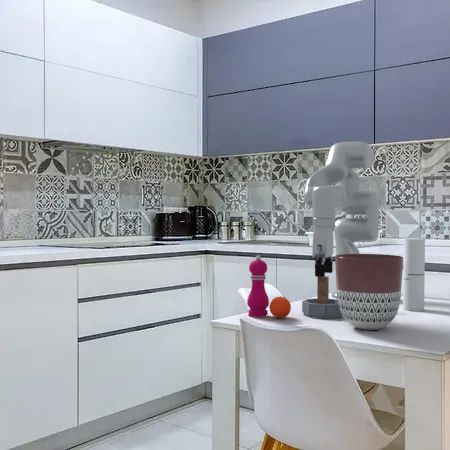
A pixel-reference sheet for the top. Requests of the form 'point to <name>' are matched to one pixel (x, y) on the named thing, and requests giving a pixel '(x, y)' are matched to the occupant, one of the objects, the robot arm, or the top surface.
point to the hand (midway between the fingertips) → (323, 274)
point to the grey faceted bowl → (321, 309)
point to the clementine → (280, 307)
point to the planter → (368, 288)
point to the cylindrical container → (413, 274)
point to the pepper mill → (258, 289)
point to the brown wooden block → (323, 290)
